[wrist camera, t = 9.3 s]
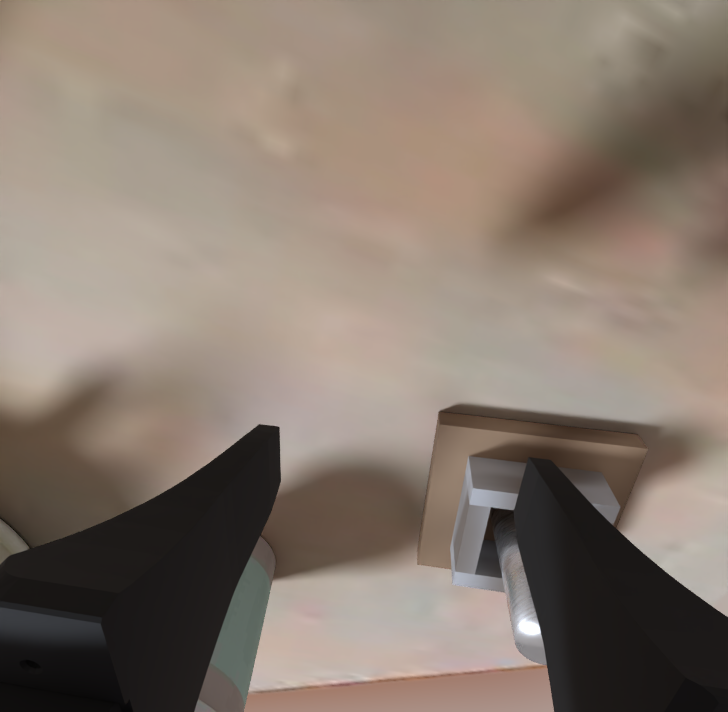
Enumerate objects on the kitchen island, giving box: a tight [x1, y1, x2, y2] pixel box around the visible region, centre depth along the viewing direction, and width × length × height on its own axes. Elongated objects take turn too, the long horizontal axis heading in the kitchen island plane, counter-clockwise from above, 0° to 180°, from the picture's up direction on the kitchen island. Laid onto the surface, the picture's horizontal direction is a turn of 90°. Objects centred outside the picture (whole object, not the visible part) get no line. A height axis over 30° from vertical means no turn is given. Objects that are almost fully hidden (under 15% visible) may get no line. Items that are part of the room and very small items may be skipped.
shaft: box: [490, 507, 547, 665], centre depth 21 cm, size 3×3×7 cm
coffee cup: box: [194, 536, 276, 712], centre depth 25 cm, size 8×8×12 cm
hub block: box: [417, 412, 648, 592], centre depth 24 cm, size 10×10×4 cm
